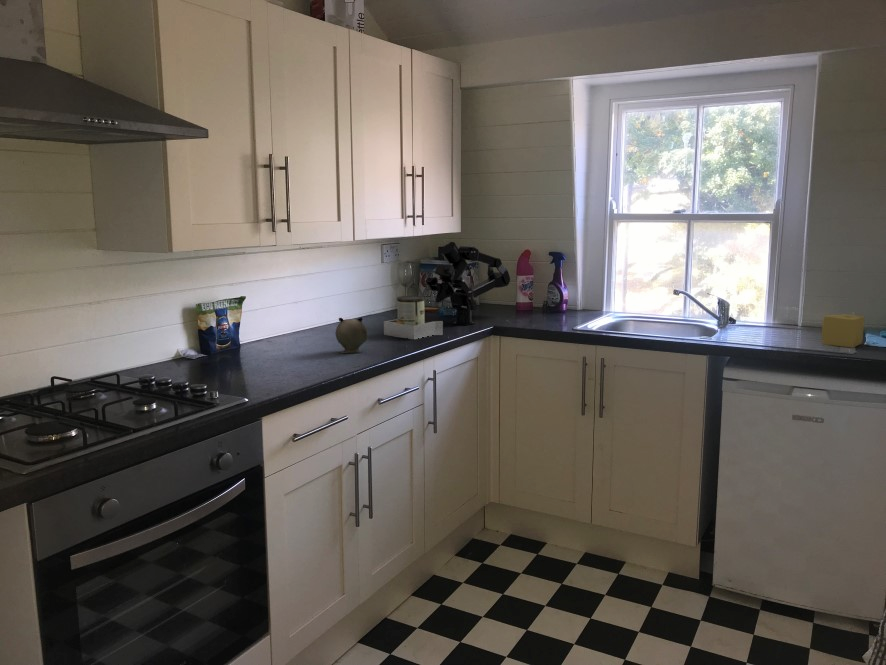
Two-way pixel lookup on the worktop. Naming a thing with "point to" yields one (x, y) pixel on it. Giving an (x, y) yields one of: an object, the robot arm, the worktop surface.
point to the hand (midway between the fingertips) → (436, 301)
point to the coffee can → (410, 309)
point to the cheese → (842, 330)
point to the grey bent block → (412, 329)
